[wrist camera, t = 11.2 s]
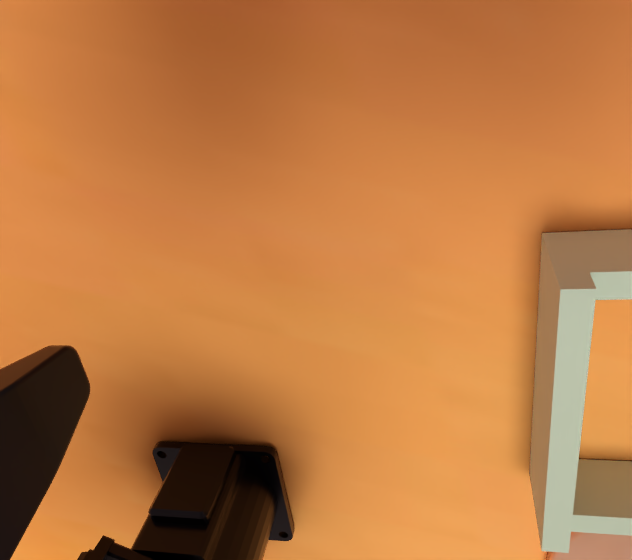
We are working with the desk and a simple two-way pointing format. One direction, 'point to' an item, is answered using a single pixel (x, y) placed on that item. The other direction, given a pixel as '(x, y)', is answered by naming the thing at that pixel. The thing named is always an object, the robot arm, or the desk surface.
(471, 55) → the desk surface
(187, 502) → the robot arm
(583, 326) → the pale grey rectangular frame
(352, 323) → the desk surface
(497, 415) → the desk surface
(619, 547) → the terracotta saucer
